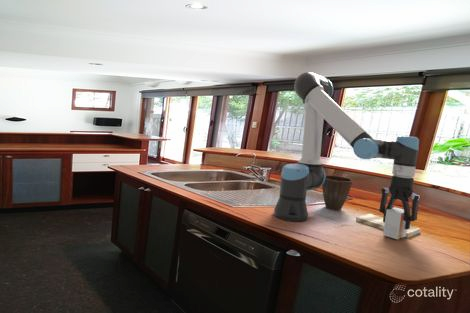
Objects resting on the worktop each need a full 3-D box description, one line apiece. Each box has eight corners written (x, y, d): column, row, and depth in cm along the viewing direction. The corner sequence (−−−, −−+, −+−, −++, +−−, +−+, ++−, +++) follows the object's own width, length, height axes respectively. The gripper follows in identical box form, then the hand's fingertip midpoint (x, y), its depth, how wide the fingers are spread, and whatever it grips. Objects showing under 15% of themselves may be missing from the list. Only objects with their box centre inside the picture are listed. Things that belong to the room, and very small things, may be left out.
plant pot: (354, 210, 148) (357, 179, 147) (339, 214, 138) (343, 182, 137) (327, 203, 159) (331, 174, 157) (312, 206, 149) (316, 176, 147)
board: (355, 220, 131) (356, 216, 131) (368, 217, 138) (369, 213, 138) (407, 237, 114) (408, 233, 113) (419, 232, 121) (420, 228, 121)
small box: (397, 240, 109) (401, 213, 108) (382, 235, 113) (386, 209, 112) (405, 236, 114) (409, 210, 113) (391, 231, 118) (394, 206, 117)
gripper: (374, 172, 116) (366, 227, 119) (426, 181, 101) (416, 244, 104) (382, 171, 121) (375, 224, 123) (434, 180, 106) (424, 240, 109)
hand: (394, 233), depth 114 cm, fingers closed on small box, 6 cm apart
